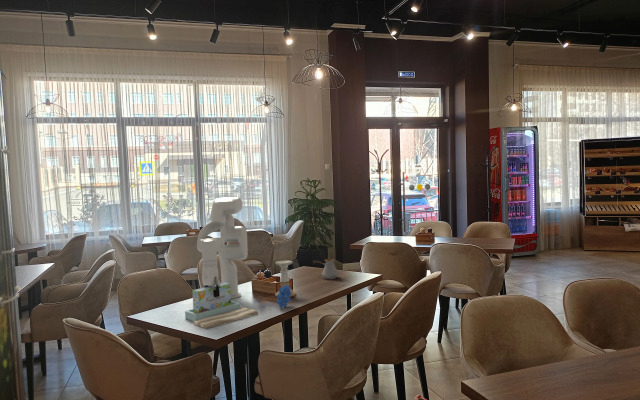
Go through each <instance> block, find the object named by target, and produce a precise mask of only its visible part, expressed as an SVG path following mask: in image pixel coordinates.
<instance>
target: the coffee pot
mask: <svg viewBox="0 0 640 400" xmlns="http://www.w3.org/2000/svg"><path fill="white" fill-rule="evenodd" d="M324 261H325V263H324V262H322V261H320V260H316V259H315V260H313V262H314V263H318V264H321V265H324V268H323V270H322V273H321V276H322V277H323V278H324V279H325V280H334V279H337V277H338V276H339V272H338V269H337V267H336V266H335V263H334V261H335V259H333V258H326V259H324Z"/></svg>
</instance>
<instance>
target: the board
mask: <svg viewBox="0 0 640 400" xmlns="http://www.w3.org/2000/svg"><path fill="white" fill-rule="evenodd" d="M252 315H253V316H256V315H259V311H258V310H255V309H251V308H247V307H240V309H237V310H233V311H229V312H226V313H222V314H218V315H215V316H211V317H207V318H203V319H200V320H196V321H194V322H193V325H195V326H197V325H198V327H200V326H201V328H202V327H204V328H203V329H205V328H208V329H210V328H209V327H211V328H214V326H215V327H218V326H221V325H225V324H228V323H231V322H234V321H238V319H239V320H242V319H246V318H249V317H252ZM245 317H246V318H245ZM224 323H225V324H224ZM217 325H218V326H217Z"/></svg>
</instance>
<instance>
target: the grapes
mask: <svg viewBox="0 0 640 400" xmlns="http://www.w3.org/2000/svg"><path fill="white" fill-rule="evenodd" d="M290 289H291V287H290V285H289V286H287V285H286V284H285V285H283V287H282V286H281V287H280V288H279V289H278V291H279V292H280V293H278V294H277V297H276V298H277V300H276V304H277V305H279V308H281V309H282V308H283V307H284V308H286V307H287V306H288V303H290V302H291V297H289V296H291V294H292V293H291V291H290Z"/></svg>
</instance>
